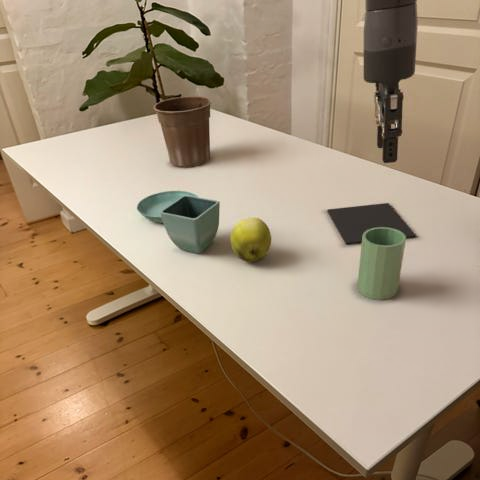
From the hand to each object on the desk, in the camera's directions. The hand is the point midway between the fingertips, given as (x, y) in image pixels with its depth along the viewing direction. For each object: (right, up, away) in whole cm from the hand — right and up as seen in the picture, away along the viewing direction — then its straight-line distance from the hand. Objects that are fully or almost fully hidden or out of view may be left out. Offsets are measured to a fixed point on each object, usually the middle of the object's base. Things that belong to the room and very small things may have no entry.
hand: (386, 154), depth 78 cm
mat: (+3, -7, +21) cm, 22 cm away
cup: (-1, -22, +2) cm, 23 cm away
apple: (-22, -16, +13) cm, 30 cm away
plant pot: (-39, +20, +61) cm, 75 cm away
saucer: (-41, -3, +33) cm, 53 cm away
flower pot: (-34, -13, +18) cm, 41 cm away
